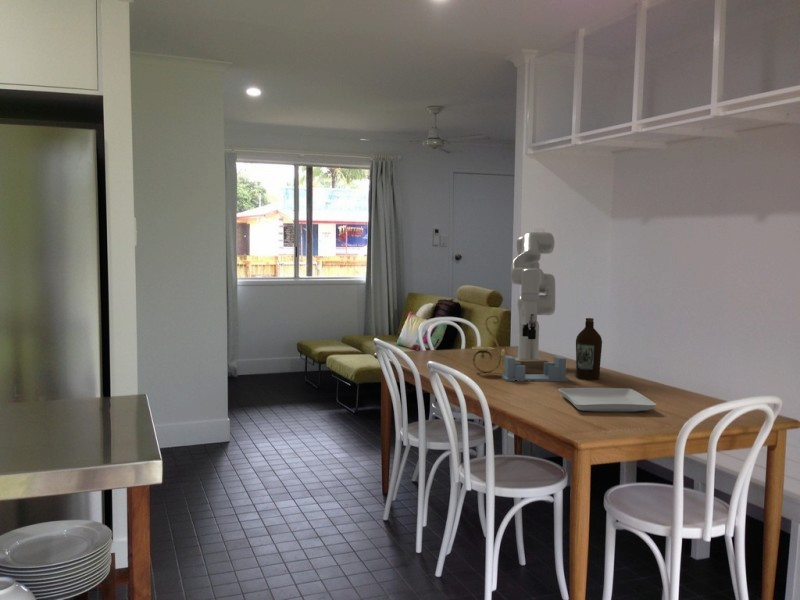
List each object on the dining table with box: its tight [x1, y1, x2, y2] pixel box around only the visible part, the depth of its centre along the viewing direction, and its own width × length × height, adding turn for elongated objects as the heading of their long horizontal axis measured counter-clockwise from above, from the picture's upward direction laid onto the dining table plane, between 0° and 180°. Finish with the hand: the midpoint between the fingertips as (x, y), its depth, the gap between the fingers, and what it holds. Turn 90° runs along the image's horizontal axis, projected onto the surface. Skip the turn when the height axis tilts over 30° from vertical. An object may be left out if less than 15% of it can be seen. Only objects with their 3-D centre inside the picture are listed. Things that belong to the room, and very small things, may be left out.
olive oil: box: [575, 317, 603, 381], centre depth 295 cm, size 11×11×25 cm
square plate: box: [557, 387, 658, 413], centre depth 246 cm, size 27×27×4 cm
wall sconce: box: [471, 314, 506, 373], centre depth 304 cm, size 14×10×25 cm
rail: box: [515, 359, 549, 374], centre depth 303 cm, size 4×16×6 cm, turn 98°
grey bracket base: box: [500, 355, 570, 382], centre depth 292 cm, size 10×26×9 cm, turn 93°
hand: (528, 337), depth 302 cm, fingers open, 9 cm apart
